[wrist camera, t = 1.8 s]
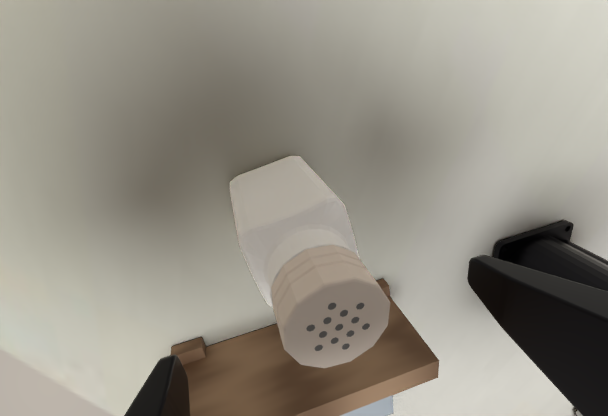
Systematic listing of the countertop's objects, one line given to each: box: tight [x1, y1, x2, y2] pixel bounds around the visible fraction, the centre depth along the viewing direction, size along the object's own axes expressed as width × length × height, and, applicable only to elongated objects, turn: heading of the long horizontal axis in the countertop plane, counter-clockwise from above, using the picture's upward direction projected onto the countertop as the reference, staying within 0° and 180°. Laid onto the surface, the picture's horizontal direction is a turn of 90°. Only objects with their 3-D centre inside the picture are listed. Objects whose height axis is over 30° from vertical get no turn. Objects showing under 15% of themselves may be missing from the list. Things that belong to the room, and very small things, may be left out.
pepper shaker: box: [230, 156, 390, 368], centre depth 13 cm, size 4×4×10 cm
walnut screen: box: [171, 279, 439, 416], centre depth 19 cm, size 14×3×6 cm, turn 99°
